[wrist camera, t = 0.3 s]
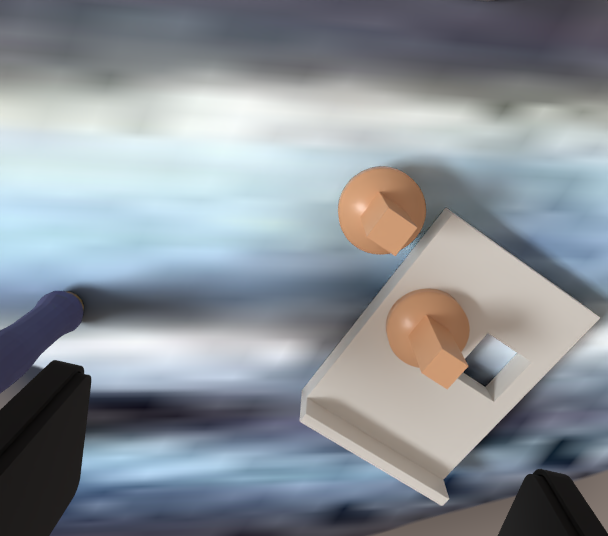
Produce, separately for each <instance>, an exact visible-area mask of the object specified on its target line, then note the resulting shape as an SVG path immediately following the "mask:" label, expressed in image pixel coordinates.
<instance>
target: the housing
mask: <svg viewBox="0 0 608 536" xmlns="http://www.w3.org/2000/svg"><path fill="white" fill-rule="evenodd" d="M599 319H600V317H599V316H597V315H596V314H595V313H594V312H592V311H591V310H590V309H589V308H587V307H586V306H585V305H583V304H582V303H580V302H579V301H578V300H576V299H575V298H573V297H572V296H570V295H569V294H568V293H566V292H565V291H563V290H562V289H561V288H559V287H558V286H556V285H555V284H554V283H552V282H551V281H549V280H548V279H546V278H545V277H544V276H542V275H541V274H539V273H538V272H537V271H535V270H534V269H532V268H531V267H530V266H528V265H527V264H525V263H524V262H522V261H521V260H520V259H518V258H517V257H515V256H514V255H513V254H511V253H510V252H508V251H507V250H505V249H504V248H503V247H501V246H500V245H498V244H497V243H496V242H494V241H493V240H491V239H490V238H489V237H487V236H486V235H484V234H483V233H481V232H480V231H479V230H477V229H476V228H474V227H473V226H472V225H470V224H469V223H467V222H466V221H464V220H463V219H462V218H460V217H459V216H457V215H456V214H455V213H453V212H452V211H450V210H449V209H448V208H445V209H444V210H443V211H442V213H441V214H440V215H439V217H438V218H437V219H436V220H435V222H434V223H433V224H432V225H431V227H430V228H429V229H428V231H427V232H426V233H425V234H424V236H423V237H422V238H421V239H420V241H419V242H418V243H417V245H416V246H415V247H414V248H413V250H412V251H411V252H410V253H409V255H408V256H407V257H406V259H405V260H404V261H403V262H402V264H401V265H400V266H399V267H398V269H397V270H396V271H395V273H394V274H393V275H392V276H391V278H390V279H389V280H388V281H387V283H386V284H385V285H384V287H383V288H382V289H381V290H380V292H379V293H378V294H377V295H376V297H375V298H374V299H373V301H372V302H371V303H370V304H369V306H368V307H367V308H366V309H365V311H364V312H363V313H362V315H361V316H360V317H359V318H358V320H357V321H356V322H355V323H354V325H353V326H352V327H351V329H350V330H349V331H348V332H347V334H346V335H345V336H344V337H343V339H342V340H341V341H340V343H339V344H338V345H337V346H336V348H335V349H334V350H333V351H332V353H331V354H330V355H329V357H328V358H327V359H326V360H325V362H324V363H323V364H322V365H321V367H320V368H319V369H318V371H317V372H316V373H315V374H314V376H313V377H312V378H311V379H310V381H309V382H308V383H307V385H306V386H305V387H304V388H303V390H302V398H301V411H300V422H301V423H303V424H305V425H306V426H308V427H310V428H311V429H313V430H315V431H317V432H318V433H320V434H322V435H323V436H325V437H327V438H328V439H330V440H332V441H333V442H335V443H337V444H338V445H340V446H342V447H344V448H345V449H347V450H349V451H350V452H352V453H354V454H355V455H357V456H359V457H360V458H362V459H364V460H365V461H367V462H369V463H371V464H372V465H374V466H376V467H377V468H379V469H381V470H382V471H384V472H386V473H387V474H389V475H391V476H392V477H394V478H396V479H398V480H399V481H401V482H403V483H404V484H406V485H408V486H409V487H411V488H413V489H414V490H416V491H418V492H419V493H421V494H423V495H424V496H426V497H428V498H430V499H431V500H433V501H435V502H436V503H438V504H440V505H441V506H443V505H444V504H445V503H446V502H447V501H448V500H449V497H448V494H447V491H446V487H445V484H444V481H443V479H444V478H445V477H446V476H447V475H448V474H449V473H450V472H451V471H452V470H453V469H454V468H455V467H456V466H457V465H458V464H459V463H460V462H461V461H462V460H463V459H464V458H465V457H466V455H467V454H468V453H469V452H470V451H471V450H472V449H473V448H474V447H475V446H476V445H477V444H478V443H479V442H480V441H481V440H482V439H483V438H484V437H485V436H486V435H487V434H488V433H489V432H490V431H491V430H492V429H493V428H494V427H495V426H496V425H497V424H498V423H499V422H500V421H501V420H502V418H503V417H504V416H505V415H506V414H507V413H508V412H509V411H510V410H511V409H512V408H513V407H514V406H515V405H516V404H517V403H518V402H519V401H520V400H521V399H522V398H523V397H524V396H525V395H526V394H527V393H528V392H529V391H530V390H531V389H532V388H533V387H534V386H535V385H536V384H537V383H538V381H539V380H540V379H541V378H542V377H543V376H544V375H545V374H546V373H547V372H548V371H549V370H550V369H551V368H552V367H553V366H554V365H555V364H556V363H557V362H558V361H559V360H560V359H561V358H562V357H563V356H564V355H565V354H566V353H567V352H568V351H569V350H570V349H571V348H572V347H573V346H574V345H575V343H576V342H577V341H578V340H579V339H580V338H581V337H582V336H583V335H584V334H585V333H586V332H587V331H588V330H589V329H590V328H591V327H592V326H593V325H594V324H595V323H596V322H597V321H598V320H599ZM487 333H489V334H490V335H492V336H493V337H495V338H496V339H498V340H499V341H501V342H502V343H504V344H505V345H507V346H508V347H510V348H511V349H512V350H514V351H515V352H517V354H516V355H515V356H514V357H513V358H512V359H511V360H510V361H509V362H508V363H507V365H506V366H505V367H504V368H503V369H502V370H501V371H500V372H499V373H498V374H497V375H496V376H495V377H494V378H493V379H492V381H491V382H490V383H489V384H488V385H487V386H486V387H485V386H483V385H482V384H480V383H479V382H477V381H476V380H474V379H472V378H471V377H469V376H468V375H466V374H465V373H463V372H464V371H465V369H466V368H467V367H468V364H467V362H466V360H465V358H466V357H467V356H468V355H469V354H470V352H471V351H472V350H473V349H474V348H475V347H476V346H477V345H478V343H479V342H480V341H481V340H482V339H483V338H484V337H485V336H486V335H487Z"/></svg>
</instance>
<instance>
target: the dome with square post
mask: <svg viewBox="0 0 608 536" xmlns="http://www.w3.org/2000/svg"><path fill="white" fill-rule="evenodd" d="M338 215H339V222H340V226H341V229H342V231H343V233H344V235H345V236H346V238H347V239H348V240H349V241H350V242H351V243H352V244H353V245H354V246H356V247H357V248H359V249H360V250H363V251H365V252H368V253H372V254H389V253H391V254H393V255H394V256H396V255H397V254H398V252H399V251H400V250H401V249H403V248H405V247H406V246H407V245H409V244H410V243H411V242H412V241H413V240H414V239H415V238H416V237H417V236H418V234H419V233H420V231H421V229H422V227H423V224H424V221H425V217H426V203H425V199H424V196H423V193H422V191H421V189H420V188H419V186H418V185H417V184H416V183H415V182H414V180H413V179H411V178H410V177H409V176H408V175H407V174H405V173H404V172H402V171H400V170H398V169H395V168H392V167H385V166H379V167H372V168H369V169H366V170H364V171H362V172H360V173H358V174H357V175H355V176H354V177H353V178H352V179H351V180H350V181H349V182H348V183H347V184H346V186H345V187H344V189H343V191H342V193H341V195H340V199H339V204H338Z"/></svg>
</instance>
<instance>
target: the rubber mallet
mask: <svg viewBox="0 0 608 536" xmlns="http://www.w3.org/2000/svg"><path fill="white" fill-rule="evenodd" d="M83 309H84V305H83V303H82V300H81V299H80V298H79V297H78V296H77V295H76V294H74V293H71V292H65V291H53V292H51V293H49V294H46V295H45V296H43V297H42V298H41V299H40V300H39V301H38V303H37V304H36V306H35V308H34V309H32V310H31V311H30V312H28V313H27V314H25V315H24V316H23V317H21V318H20V319H19V320H17V321H16V322H15V323H13V324H12V325H10V326H8V327H6V328H4V329H2V330H0V393H1V392H3V391H4V390H5V389H7V388H8V387H10V386H11V385H12V384H13V383H15V382H16V381H17V380H18V379H19V378H20V377H22V376H23V375H24V374H25V373H26V372H27V371H28V370H29V368H30V367H31V366H32V365H33V364H34V362H35V361H36V360H37V358H38V357H39V356H40V355H41V354H42V353H43V352H44V351H45V350H46V349H47V348H48V347H49V346H51V345H52V344H53V343H54V342H55V341H56V340H57V339H58V338H60V337H61V336H63V335H64V334H66V333H69V332H71V331H73V330H75V329H76V328H77V327H78V326H79V325H80V323H81V321H82V317H83Z"/></svg>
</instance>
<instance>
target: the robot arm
mask: <svg viewBox="0 0 608 536" xmlns="http://www.w3.org/2000/svg"><path fill="white" fill-rule="evenodd" d="M478 1H493V0H478ZM90 388H91V376H90V375H86V374H84V368H83V367H82V366H79V365H75V364H70V363H66V362H61V361H57V360H54V361H52V362H50V363H49V364H48V365H47V366H46V367H45V368H44V369H43V370H42V371H41V372H40V373H39V374H38V375H37V376H36V377H35V378H33V380H31V381H30V382H29V383H28V384H27V385H26V386H25V387H24V388H23V389H22V390H21V391H20V392H19V393H18V394H17V395H16V396H14V397H13V398H12V399H11V400H10V401H9V402H8V403H7V404H6V405H5V406H4V407H3V408H2V409H1V410H0V536H49V535H50V533H51V532H52V530H53V529H54V527H55V526H56V524H57V522H58V521H59V519H60V518H61V516H62V514H63V513H64V511H65V510H66V508H67V507H68V505H69V503H70V502H71V500H72V499H73V497H74V495H75V493H76V490H77V488H78V485H79V481H80V474H81V466H82V457H83V448H84V440H85V431H86V423H87V414H88V405H89V397H90ZM498 536H608V533H607V532H606V530H605V529H604V527H603V526H602V524H601V523H600V521H599V520H598V518H597V517H596V515H595V514H594V512H593V511H592V509H591V508H590V506H589V505H588V504H587V502H586V501H585V499H584V497H583V496H582V494H581V493H580V492H579V490H578V488H577V487H576V486H575V484H574V483H573V481H572V480H571V478H570V477H569V476H567V475H565V474H561V473H556V472H552V471H547V470H543V469H537V470H536V471H535V472H534V473H533V474H528V475H527V476H526V477H525V479H524V480H523V483H522V485H521V487H520V489H519V491H518V493H517V495H516V498H515V500H514V502H513V504H512V506H511V508H510V511H509V513H508V515H507V517H506V519H505V521H504V523H503V525H502V528H501V530H500V532H499V534H498Z"/></svg>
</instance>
